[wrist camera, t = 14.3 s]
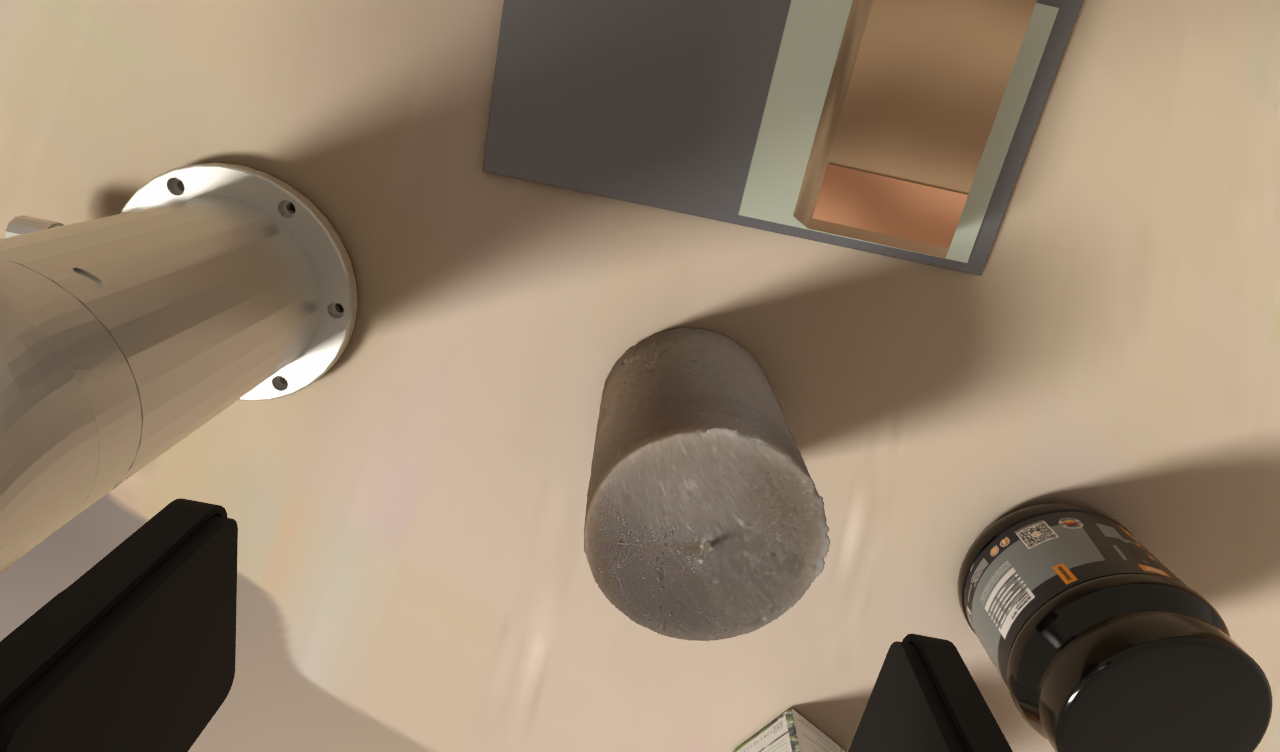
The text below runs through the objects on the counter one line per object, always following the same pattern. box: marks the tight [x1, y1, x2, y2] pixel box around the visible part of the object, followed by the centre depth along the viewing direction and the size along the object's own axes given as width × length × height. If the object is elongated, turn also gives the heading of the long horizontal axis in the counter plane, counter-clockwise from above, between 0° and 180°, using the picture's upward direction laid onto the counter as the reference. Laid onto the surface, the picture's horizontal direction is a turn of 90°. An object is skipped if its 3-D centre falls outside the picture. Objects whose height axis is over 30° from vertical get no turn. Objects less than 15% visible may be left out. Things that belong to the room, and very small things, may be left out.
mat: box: [483, 0, 1083, 276], centre depth 35 cm, size 26×20×1 cm
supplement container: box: [958, 502, 1272, 752], centre depth 40 cm, size 10×10×12 cm
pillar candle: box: [584, 328, 830, 641], centre depth 35 cm, size 10×10×15 cm
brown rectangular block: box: [793, 0, 1037, 258], centre depth 34 cm, size 11×6×4 cm, turn 168°
